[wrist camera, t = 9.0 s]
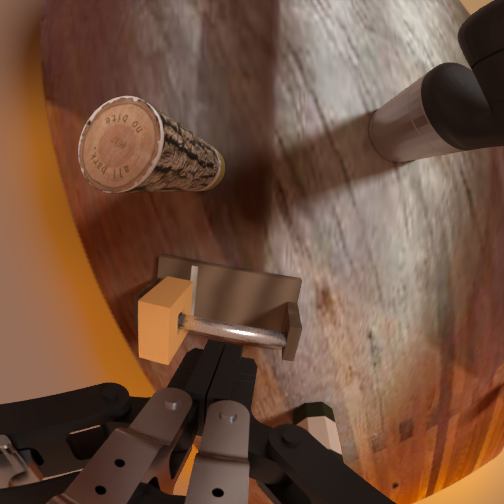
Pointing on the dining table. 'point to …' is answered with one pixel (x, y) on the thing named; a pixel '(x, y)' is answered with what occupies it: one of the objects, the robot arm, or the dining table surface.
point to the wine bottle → (319, 425)
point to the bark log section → (145, 151)
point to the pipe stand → (235, 303)
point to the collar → (163, 319)
